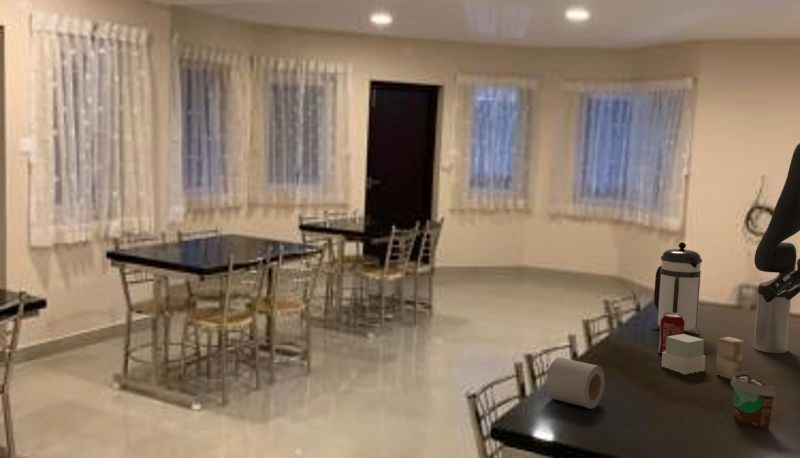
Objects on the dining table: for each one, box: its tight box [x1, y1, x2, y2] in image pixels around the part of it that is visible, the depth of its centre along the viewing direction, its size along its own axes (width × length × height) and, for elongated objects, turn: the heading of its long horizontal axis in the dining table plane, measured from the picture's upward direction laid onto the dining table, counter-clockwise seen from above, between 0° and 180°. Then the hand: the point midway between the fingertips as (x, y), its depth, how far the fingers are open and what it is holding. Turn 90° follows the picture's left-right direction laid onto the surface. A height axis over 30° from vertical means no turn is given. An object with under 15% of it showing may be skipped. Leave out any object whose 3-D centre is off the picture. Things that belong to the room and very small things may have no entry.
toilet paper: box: [545, 356, 606, 410], centre depth 187 cm, size 10×10×10 cm
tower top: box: [665, 333, 705, 359], centre depth 218 cm, size 7×7×4 cm
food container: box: [730, 370, 776, 430], centre depth 177 cm, size 12×6×10 cm, turn 5°
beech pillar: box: [715, 336, 744, 380], centre depth 213 cm, size 4×4×10 cm
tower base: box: [661, 351, 706, 375], centre depth 218 cm, size 8×8×4 cm
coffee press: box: [652, 241, 703, 335], centre depth 262 cm, size 17×16×30 cm
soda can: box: [657, 313, 685, 354], centre depth 233 cm, size 7×7×12 cm
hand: (775, 298), depth 202 cm, fingers open, 8 cm apart
